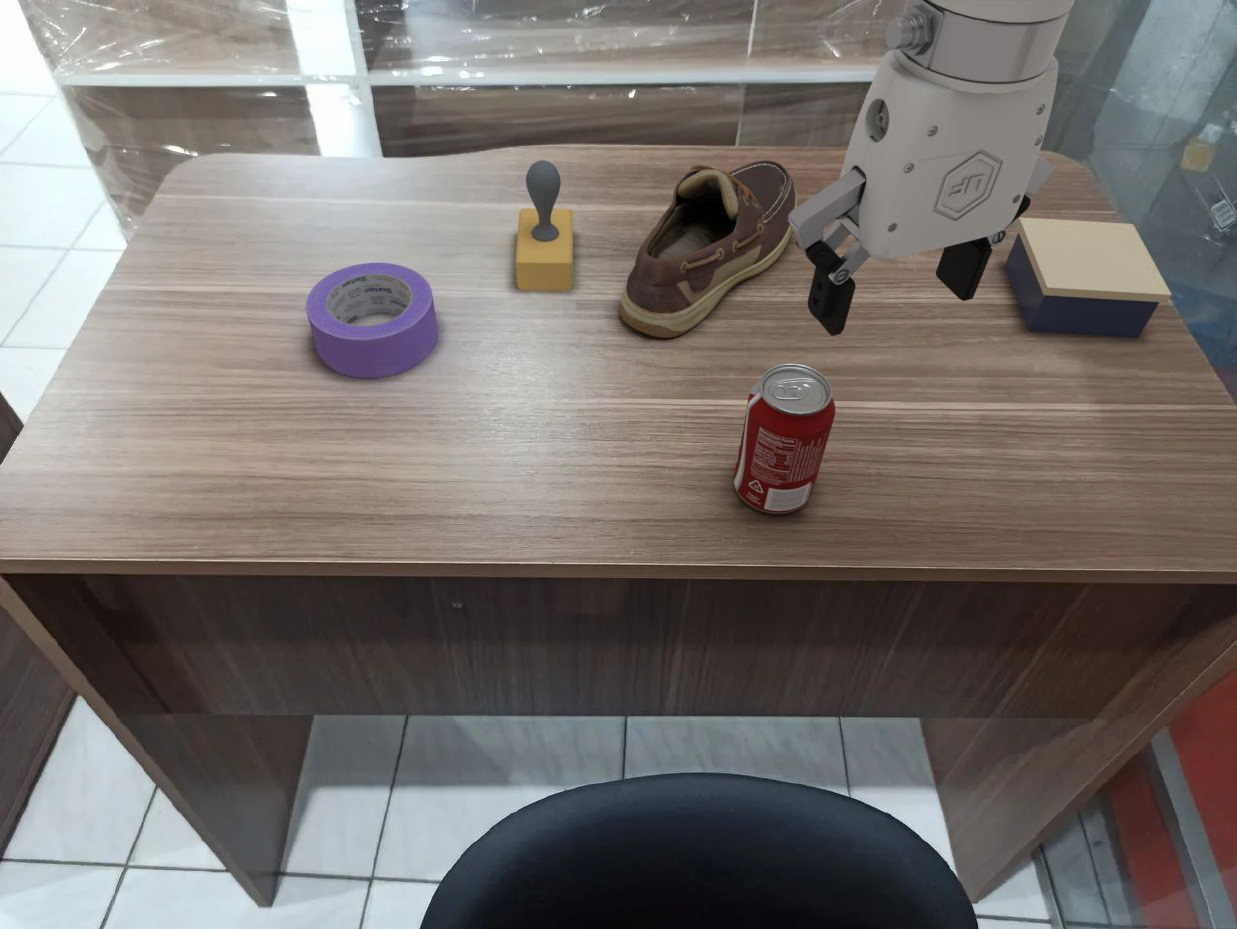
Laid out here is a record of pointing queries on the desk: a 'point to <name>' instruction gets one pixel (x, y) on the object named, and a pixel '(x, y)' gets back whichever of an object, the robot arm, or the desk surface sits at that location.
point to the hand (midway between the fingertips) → (889, 304)
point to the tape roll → (377, 344)
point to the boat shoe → (708, 245)
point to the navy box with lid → (1084, 277)
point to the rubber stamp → (544, 234)
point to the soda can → (783, 438)
